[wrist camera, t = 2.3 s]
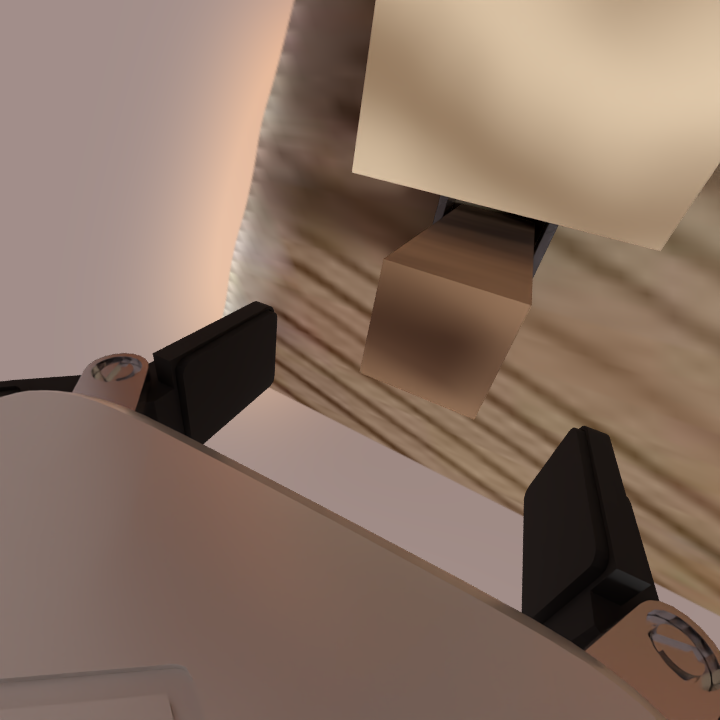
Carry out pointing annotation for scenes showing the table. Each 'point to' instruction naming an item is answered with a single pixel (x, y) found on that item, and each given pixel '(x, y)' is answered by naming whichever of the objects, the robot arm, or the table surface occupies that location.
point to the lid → (548, 108)
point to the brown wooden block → (451, 307)
